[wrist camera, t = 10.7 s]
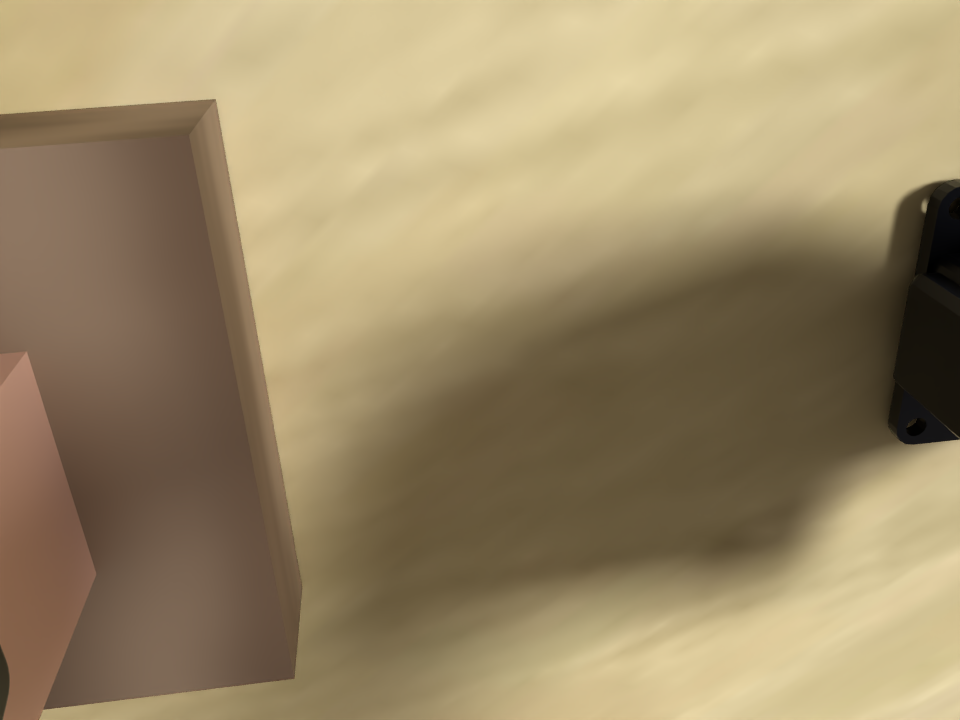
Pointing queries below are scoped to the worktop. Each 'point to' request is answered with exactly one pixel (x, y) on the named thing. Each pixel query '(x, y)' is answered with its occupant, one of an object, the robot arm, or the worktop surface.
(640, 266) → the worktop surface
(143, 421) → the walnut base
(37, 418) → the terracotta block
